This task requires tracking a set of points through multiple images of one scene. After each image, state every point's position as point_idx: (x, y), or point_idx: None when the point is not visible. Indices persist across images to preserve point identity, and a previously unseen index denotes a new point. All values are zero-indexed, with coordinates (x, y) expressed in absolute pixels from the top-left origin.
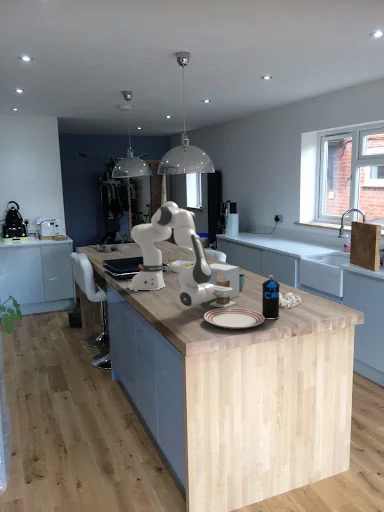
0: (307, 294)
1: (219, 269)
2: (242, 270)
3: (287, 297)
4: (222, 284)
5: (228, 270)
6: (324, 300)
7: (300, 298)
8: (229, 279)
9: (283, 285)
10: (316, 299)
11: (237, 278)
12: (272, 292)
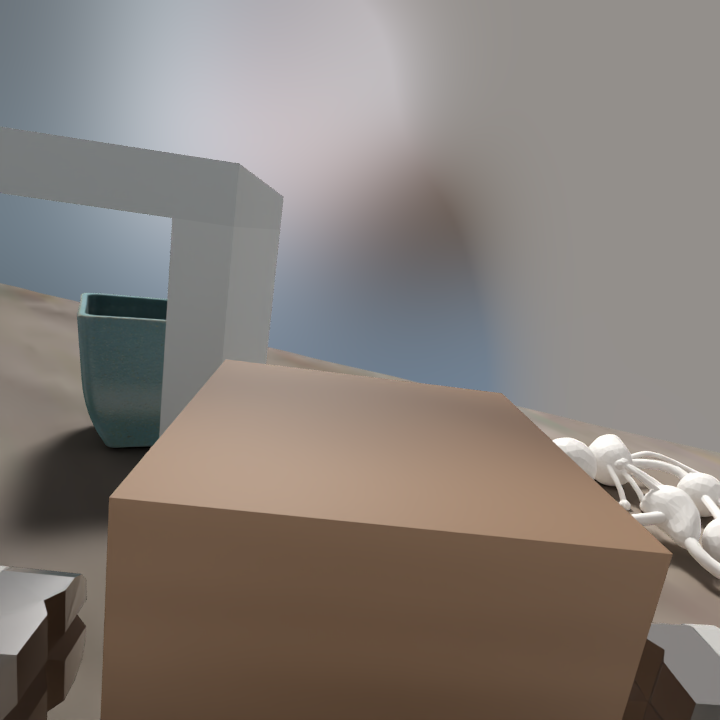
0: (559, 417)
1: (48, 137)
2: (55, 296)
3: (626, 473)
4: (543, 673)
5: (249, 188)
6: (709, 452)
7: (693, 469)
8: (239, 355)
9: (356, 368)
10: (674, 450)
11: (265, 336)
12: None
